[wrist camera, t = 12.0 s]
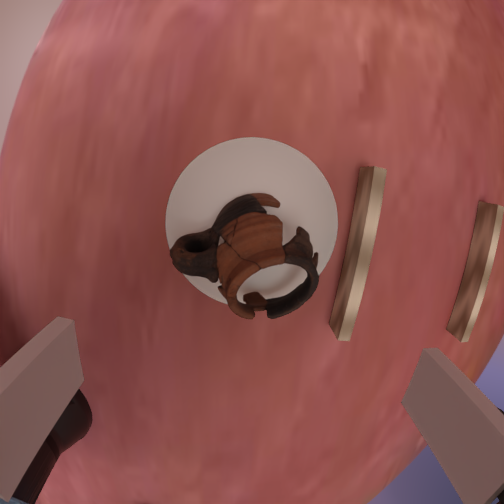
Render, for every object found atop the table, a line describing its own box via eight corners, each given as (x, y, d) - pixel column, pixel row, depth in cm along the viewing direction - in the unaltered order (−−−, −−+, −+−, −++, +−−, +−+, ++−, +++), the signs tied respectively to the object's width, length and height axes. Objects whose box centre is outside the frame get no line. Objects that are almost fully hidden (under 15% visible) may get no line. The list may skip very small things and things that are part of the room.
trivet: (161, 294, 30) (160, 295, 29) (177, 129, 26) (176, 128, 26) (319, 314, 30) (319, 315, 30) (348, 154, 27) (350, 154, 26)
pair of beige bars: (452, 329, 32) (467, 341, 28) (328, 324, 31) (337, 340, 27) (485, 203, 28) (504, 207, 25) (360, 167, 27) (374, 166, 24)
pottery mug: (304, 184, 27) (343, 241, 21) (286, 262, 33) (312, 322, 27) (167, 187, 24) (166, 252, 18) (173, 270, 30) (177, 338, 24)
